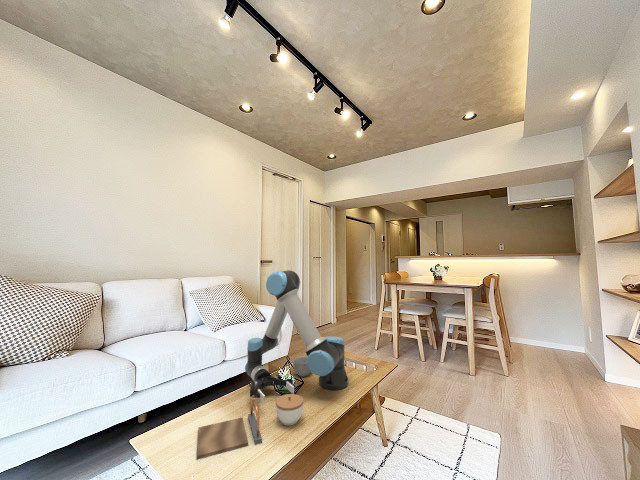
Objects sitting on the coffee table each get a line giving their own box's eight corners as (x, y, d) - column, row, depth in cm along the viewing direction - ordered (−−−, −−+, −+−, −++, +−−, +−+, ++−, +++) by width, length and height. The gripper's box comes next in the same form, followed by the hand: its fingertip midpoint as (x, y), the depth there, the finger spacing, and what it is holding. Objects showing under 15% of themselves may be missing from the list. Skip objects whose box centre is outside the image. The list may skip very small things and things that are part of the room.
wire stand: (254, 416, 108) (254, 413, 108) (262, 442, 92) (262, 438, 92) (248, 418, 107) (248, 414, 107) (255, 444, 91) (255, 440, 91)
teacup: (309, 379, 141) (309, 363, 142) (290, 377, 144) (290, 362, 144) (315, 369, 155) (315, 354, 156) (297, 367, 157) (297, 353, 158)
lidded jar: (291, 410, 112) (291, 387, 113) (308, 420, 105) (308, 396, 106) (270, 420, 105) (270, 396, 106) (286, 433, 97) (287, 406, 98)
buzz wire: (252, 414, 107) (253, 389, 107) (259, 436, 93) (259, 408, 94) (250, 414, 106) (250, 390, 107) (256, 437, 93) (257, 409, 93)
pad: (242, 420, 106) (242, 417, 106) (248, 445, 91) (248, 442, 91) (198, 430, 99) (198, 427, 99) (196, 459, 85) (196, 456, 85)
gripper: (284, 378, 138) (304, 395, 120) (235, 391, 124) (250, 412, 106) (284, 363, 138) (304, 378, 121) (235, 374, 125) (250, 393, 107)
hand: (279, 394), depth 113 cm, fingers open, 13 cm apart
